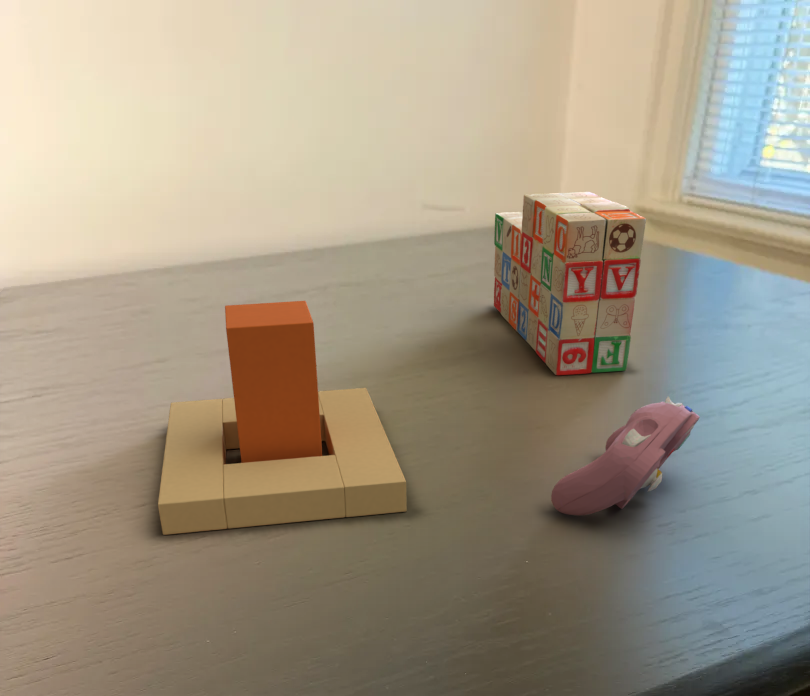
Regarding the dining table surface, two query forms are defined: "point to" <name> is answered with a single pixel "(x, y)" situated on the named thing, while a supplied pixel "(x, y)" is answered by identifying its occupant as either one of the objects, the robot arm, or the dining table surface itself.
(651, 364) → the dining table surface
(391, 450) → the base pad
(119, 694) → the dining table surface
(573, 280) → the stack of blocks
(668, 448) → the pink curved elongated piece
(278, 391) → the upright block
